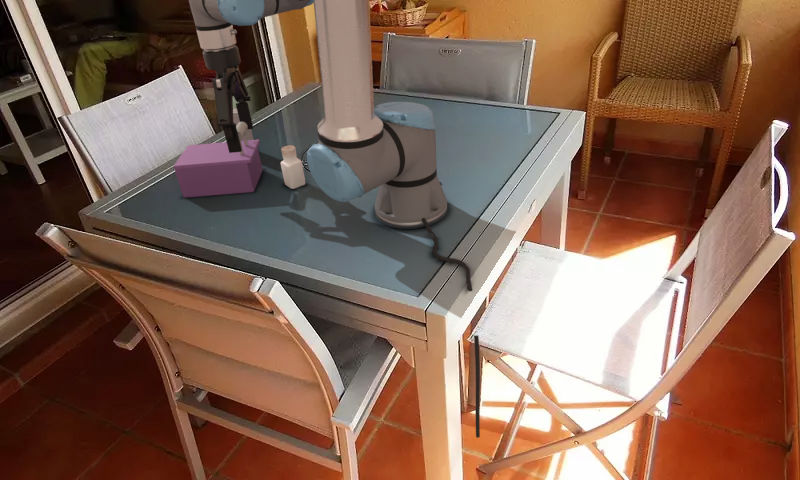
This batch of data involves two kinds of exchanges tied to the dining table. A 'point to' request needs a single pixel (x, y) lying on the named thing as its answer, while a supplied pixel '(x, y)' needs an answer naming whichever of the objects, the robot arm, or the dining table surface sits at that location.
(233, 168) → the file box
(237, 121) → the beverage can
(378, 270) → the dining table surface
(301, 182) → the salt shaker
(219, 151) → the lid
